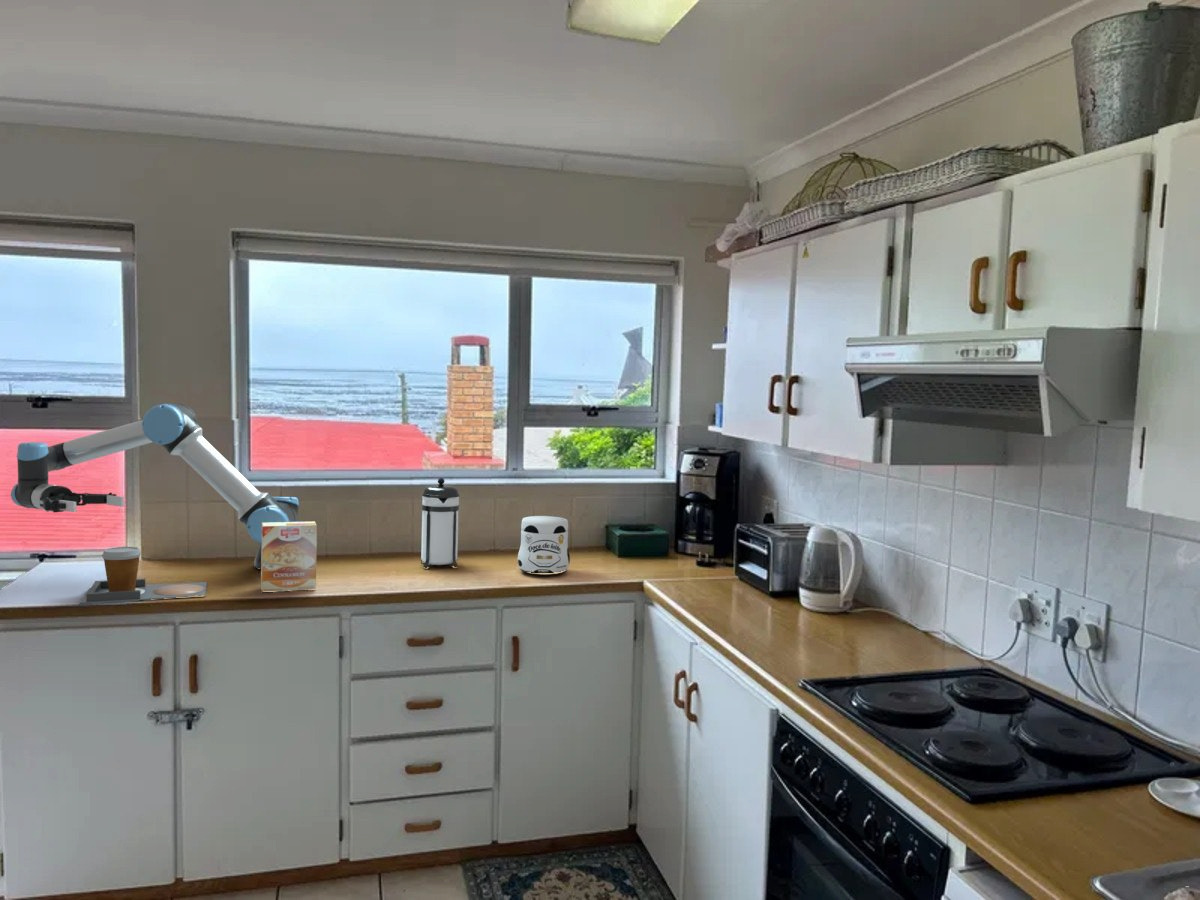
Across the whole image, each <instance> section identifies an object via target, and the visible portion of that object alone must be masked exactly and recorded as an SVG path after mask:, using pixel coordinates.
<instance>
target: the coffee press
mask: <svg viewBox="0 0 1200 900" xmlns="http://www.w3.org/2000/svg"><path fill="white" fill-rule="evenodd" d="M437 483H438V484H433V485H428V486H425V488H424V489H423V490H422V492H421V497H422V501H421V502H422V503H421V548H420V549H421V553H420V556H421V557H420V558H421V560H420V562H421V561H423V562H424V564H423V567H425V568H427V567H430V568H431V567H432V566H433V565H437V566H442V565H443V566H444V565H448V566H450V567H451V566H455V567H457V566H458V567H459V565H458V562H457V560H458V547H459V545H458V544H459V543H458V541H459V540H458V539H459V511H460V502H459V501H460V496H461V493H460V492H459V489H458V488H457V487H456V486H453V485H449V484H447V485H446V484H445V479H444V478H443V477H439V478H438V479H437Z"/></svg>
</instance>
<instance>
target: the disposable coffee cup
mask: <svg viewBox="0 0 1200 900" xmlns="http://www.w3.org/2000/svg"><path fill="white" fill-rule="evenodd" d="M141 555H142V552H141V549H140V548H139V547H138V546H137V547H136V546H117V547H109V548H105V549H103V552H102V554H101V557H102V559H103V563H104V568H105V575H106V580H107V582H108V589H109V592H113V591H132V590H135V588H136V580H137V579H138V571H139V562H140V557H141Z"/></svg>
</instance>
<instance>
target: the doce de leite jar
mask: <svg viewBox="0 0 1200 900" xmlns="http://www.w3.org/2000/svg"><path fill="white" fill-rule="evenodd" d="M520 526H521V529H520V547H519V551H518V552H517V565H518V568H519V570H520V571H521V572H523V571H525V572H524V573H526V572H531V573H554V572H561V571H564V570H568V569H569V567H570V561H571V560H570V559H571V557H570V550H569V547H568V546H569V545H568V539H569V521H568V519H567V518H564V517H561V516H560V517H559V516H549V515H534V516H533V515H532V516H526V517H522V520H521V524H520Z"/></svg>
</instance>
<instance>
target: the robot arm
mask: <svg viewBox="0 0 1200 900" xmlns="http://www.w3.org/2000/svg"><path fill="white" fill-rule="evenodd" d="M151 443H154V444H157V445H161V447H163V449H164V450H166V452H168V453H169V454H170V456H179V457H180V458H182V459H183V460H184V461H185V462H186V463H187V464H188V465H189V466H190V468H192V469H193V470H194V471H195V472H196V473H197V474H198V475H199V476H200V477H202V479H203V480H205V481H206V483H208V484H209V485H210V486H211V488H213V490H215V492H217V493H218V494H219V495H220V496H221V497H222V498H223V499H224V500H225V501H226V502H228V503H229V505H230V506H231V507H233V508H234V509H235V511H236V512H237V514H238V515H237V516H238V517H237V519H238V520H239V522H241V523H242V525H244V527H246V529H247V532H248V535H249V536H250V537H251V539H252V540H253V541H255V542H257V543H259V546H258V549H257V552H256V555H255V557H254V561H253V562H254V566H255V567H256V568H260V569H261V547H262V523H267V522H300V521H299V518H300V517H299V511H300V505H299V501H300V500H299V499H298V497H295V496H272V495H270V493H269V492H262V491H259V489H257V488H256V487H255V485H253V484H252V483H251V482H250V481H249V480H248V479H247V477H245V476H244V475H243V474H242V473H241V472H239V470H238V469H236V468H235V466H234V465H233V464H232V463H230V462H229V461H228V460H227V458H226V457H224V456H223V455H222V454H221V452H219V451H218V450H217V449H216V448H215V447H214V446H213V445H212V444H211V443H210V442H209V441H208V440H207V439H206V438H205V437H204V436H203V428H202V427H201V426H200V425H199V424H198V418H197V415H196V413H195V411H194V410H193V409H192V408H191V407H189V406H188V405H185V404H182V403H160V404H157V405H155V406H153V407H151V408H149V409H148V410H147V411H146V412H145V414H144V415H143V417H142V420H138V421H134V422H130V423H127V424H123V425H120V426H117V427H113V428H110V429H106V430H102V431H99V432H95V433H93V434H92V433H91V434H89V435H85V436H81V437H78V438H75V439H71V440H68V441H64V442H61V443H57V444H53V445H50V446H48V444H47V443H46V442H41V441H39V442H38V441H36V442H35V441H33V442H31V441H30V442H21V443H18V445H17V454H16V459H17V483H16V484H15V485H13V487H12V489H11V490H10V499H11V500H12V502H13V503H14V504H16V505H17V506H19V507H23V508H26V509H37V510H42V511H43V510H44V511H45V512H46V513H50V512H52V513H63V512H70V513H76V512H77V507H78V506H81V507H82V506H86V505H107V506H114V507H115V506H116V507H120V508H121V507H124V506H125V505H124V504H125V500H124V499H125V498H124V496H120V495H119V496H118V495H117V494H116V493H112V492H109V493H90V492H89V493H87V492H83V493H80V492H79V493H77V492H73V491H72V490H71V489H70V488H69V487H67V486H63V485H56V484H49V472H53V471H60V470H64V469H65V468H68V467H71V466H75V465H79V464H82V463H86V462H88V461H92V460H95V459H99V458H103V457H106V456H109V455H112V454H117V453H120V452H123V451H127V450H130V449H134V448H138V447H141V446H144V445H148V444H151ZM81 501H82V502H81ZM255 567H254V568H255ZM256 568H255V569H256Z"/></svg>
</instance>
